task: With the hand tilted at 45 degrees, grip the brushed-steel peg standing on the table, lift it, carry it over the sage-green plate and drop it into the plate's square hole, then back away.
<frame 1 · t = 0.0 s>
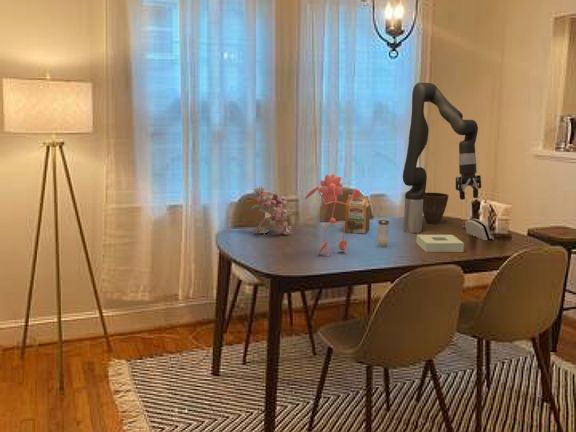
hand: (469, 198, 272), 22 cm above the table, tool pointing down, fingers open, 8 cm apart
hole plate: (439, 247, 273), on the table
steel peg: (382, 246, 274), on the table
plant pot: (432, 223, 328), on the table
pink blossom sprig: (329, 252, 262), on the table
grey napkin holder: (477, 237, 296), on the table
flower: (275, 234, 296), on the table
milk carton: (357, 232, 304), on the table
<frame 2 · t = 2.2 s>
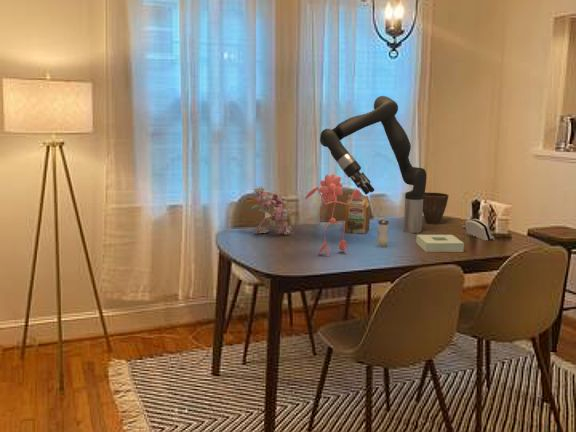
hand: (370, 192, 272), 25 cm above the table, tool tilted 40°, fingers open, 8 cm apart
nothing on the table moved.
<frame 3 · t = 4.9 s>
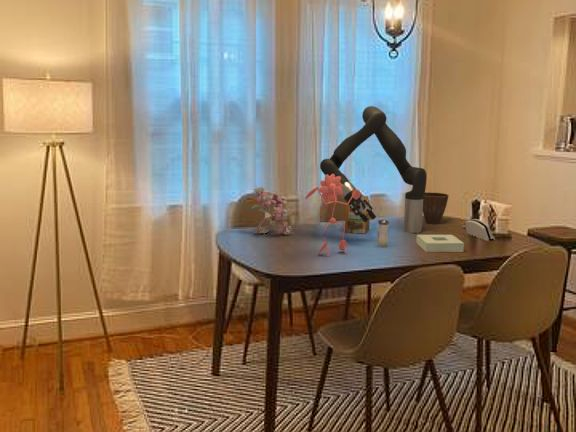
hand: (370, 219, 275), 12 cm above the table, tool tilted 45°, fingers open, 8 cm apart
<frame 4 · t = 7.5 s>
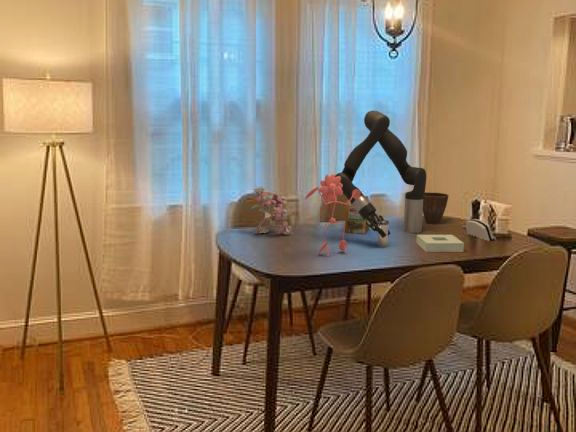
hand: (386, 235, 272), 5 cm above the table, tool tilted 45°, fingers closed on steel peg, 4 cm apart
steel peg: (382, 246, 274), on the table, touching gripper
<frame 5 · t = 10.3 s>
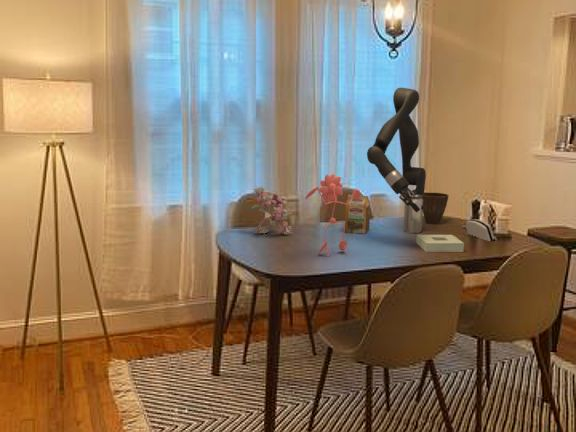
hand: (420, 210, 269), 17 cm above the table, tool tilted 45°, fingers closed on steel peg, 4 cm apart
steel peg: (415, 220, 271), point 12 cm above the table, touching gripper
when the fingers open (11 cm above the table, at t = 13.2 s): steel peg drops 5 cm, on the table.
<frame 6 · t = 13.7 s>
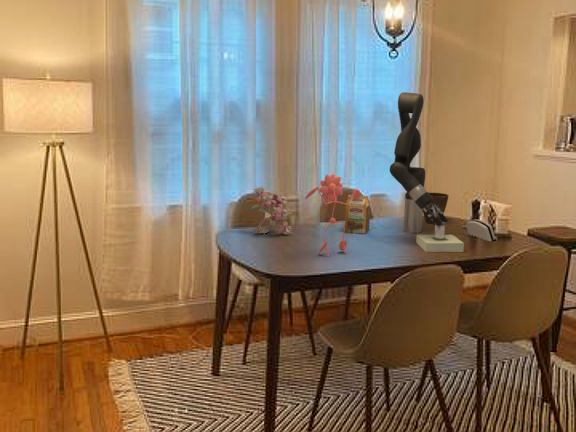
hand: (443, 223, 270), 11 cm above the table, tool tilted 45°, fingers open, 8 cm apart
steel peg: (438, 247, 272), on the table
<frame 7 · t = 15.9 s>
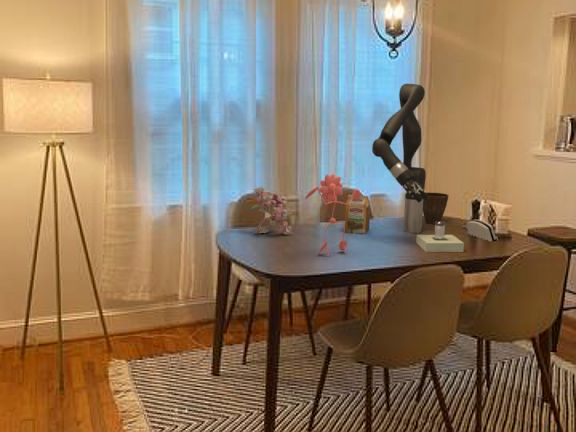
hand: (423, 200, 273), 21 cm above the table, tool tilted 45°, fingers open, 8 cm apart
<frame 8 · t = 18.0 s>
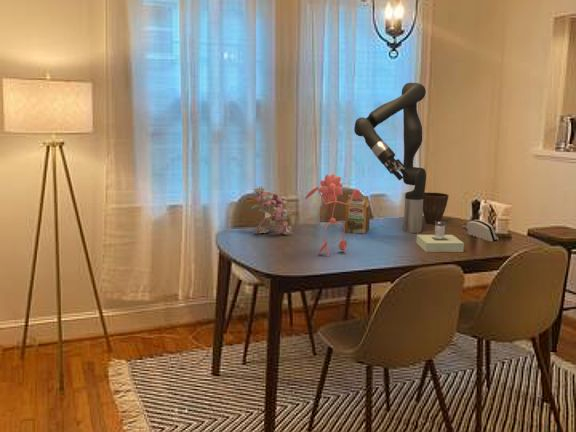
hand: (404, 178, 277), 31 cm above the table, tool tilted 45°, fingers open, 8 cm apart
at the end: steel peg 0.5 cm from the hole plate (horizontally); steel peg on the table; steel peg tilted 0° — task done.
